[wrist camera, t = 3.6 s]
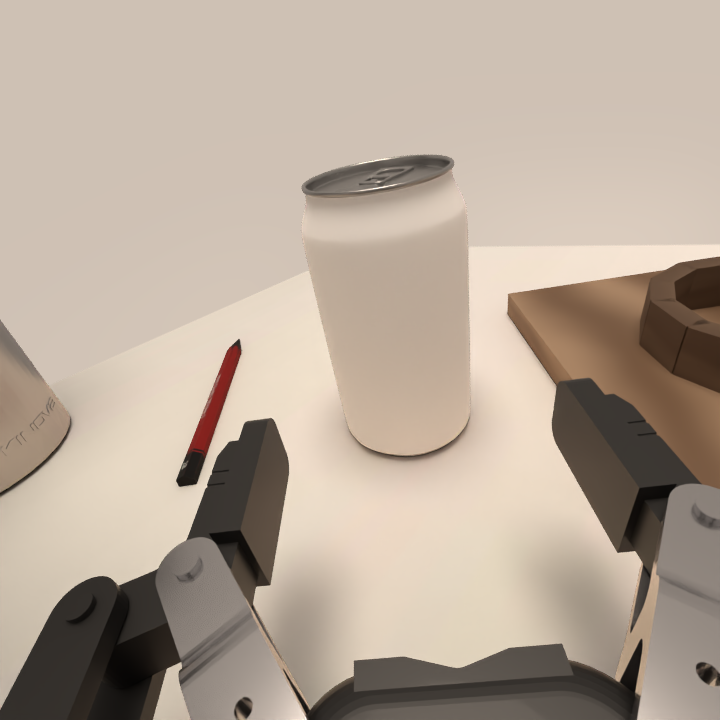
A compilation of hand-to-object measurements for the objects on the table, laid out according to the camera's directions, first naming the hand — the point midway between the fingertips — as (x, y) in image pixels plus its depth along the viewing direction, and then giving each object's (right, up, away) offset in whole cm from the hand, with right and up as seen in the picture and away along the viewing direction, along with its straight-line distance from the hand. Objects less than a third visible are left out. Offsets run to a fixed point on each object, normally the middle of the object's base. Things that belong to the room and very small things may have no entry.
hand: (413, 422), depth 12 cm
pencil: (-10, -1, +14) cm, 18 cm away
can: (+1, -1, +10) cm, 10 cm away
